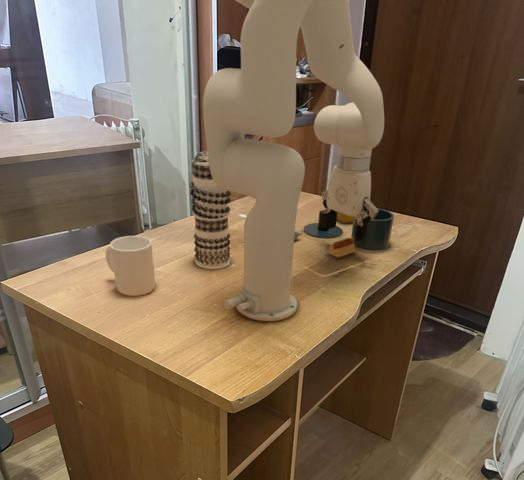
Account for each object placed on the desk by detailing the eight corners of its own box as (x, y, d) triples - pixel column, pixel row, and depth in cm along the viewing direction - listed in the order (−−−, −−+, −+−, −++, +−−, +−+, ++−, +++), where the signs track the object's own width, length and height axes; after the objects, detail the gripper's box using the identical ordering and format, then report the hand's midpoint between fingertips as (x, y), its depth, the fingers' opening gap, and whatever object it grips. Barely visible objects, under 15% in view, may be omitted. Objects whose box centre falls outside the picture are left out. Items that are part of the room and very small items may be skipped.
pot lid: (322, 243, 131) (325, 221, 128) (295, 231, 138) (297, 210, 134) (350, 235, 137) (352, 213, 134) (322, 223, 144) (324, 203, 140)
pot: (371, 255, 125) (377, 223, 121) (342, 243, 132) (346, 212, 127) (395, 246, 131) (402, 215, 126) (367, 235, 137) (371, 205, 132)
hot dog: (337, 259, 122) (339, 244, 120) (328, 255, 124) (329, 240, 122) (354, 253, 126) (356, 238, 124) (345, 249, 128) (347, 235, 126)
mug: (96, 285, 107) (88, 240, 101) (124, 272, 113) (118, 229, 107) (136, 300, 102) (130, 254, 96) (163, 286, 108) (159, 241, 102)
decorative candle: (222, 251, 124) (221, 147, 110) (237, 265, 118) (238, 156, 104) (188, 257, 121) (182, 150, 107) (202, 272, 114) (197, 160, 100)
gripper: (315, 157, 116) (309, 227, 126) (371, 174, 105) (361, 248, 115) (336, 153, 120) (330, 220, 130) (393, 168, 109) (381, 241, 119)
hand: (344, 233), depth 122 cm, fingers open, 9 cm apart
